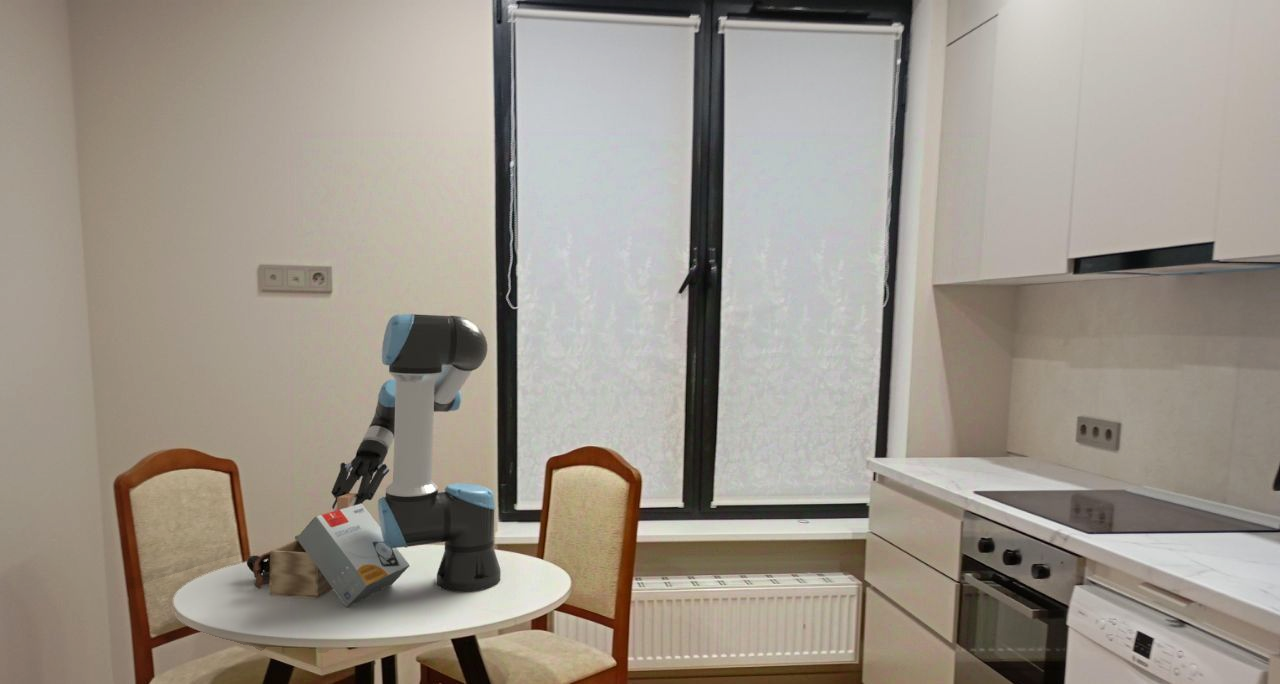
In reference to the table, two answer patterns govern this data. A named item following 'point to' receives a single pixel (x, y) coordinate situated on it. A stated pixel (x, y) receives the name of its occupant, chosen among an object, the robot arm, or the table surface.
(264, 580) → the pottery mug
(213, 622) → the table surface
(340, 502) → the lid
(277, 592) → the carton
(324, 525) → the hard drive box
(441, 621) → the table surface
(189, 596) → the table surface
